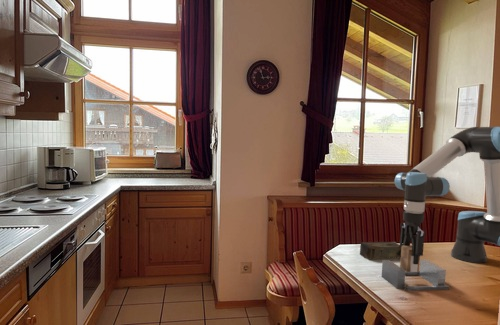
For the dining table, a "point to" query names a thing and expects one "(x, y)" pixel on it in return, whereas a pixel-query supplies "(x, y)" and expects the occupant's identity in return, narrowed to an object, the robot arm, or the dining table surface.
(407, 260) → the block
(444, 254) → the dining table surface
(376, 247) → the beverage carton
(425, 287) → the vise body
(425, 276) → the block
